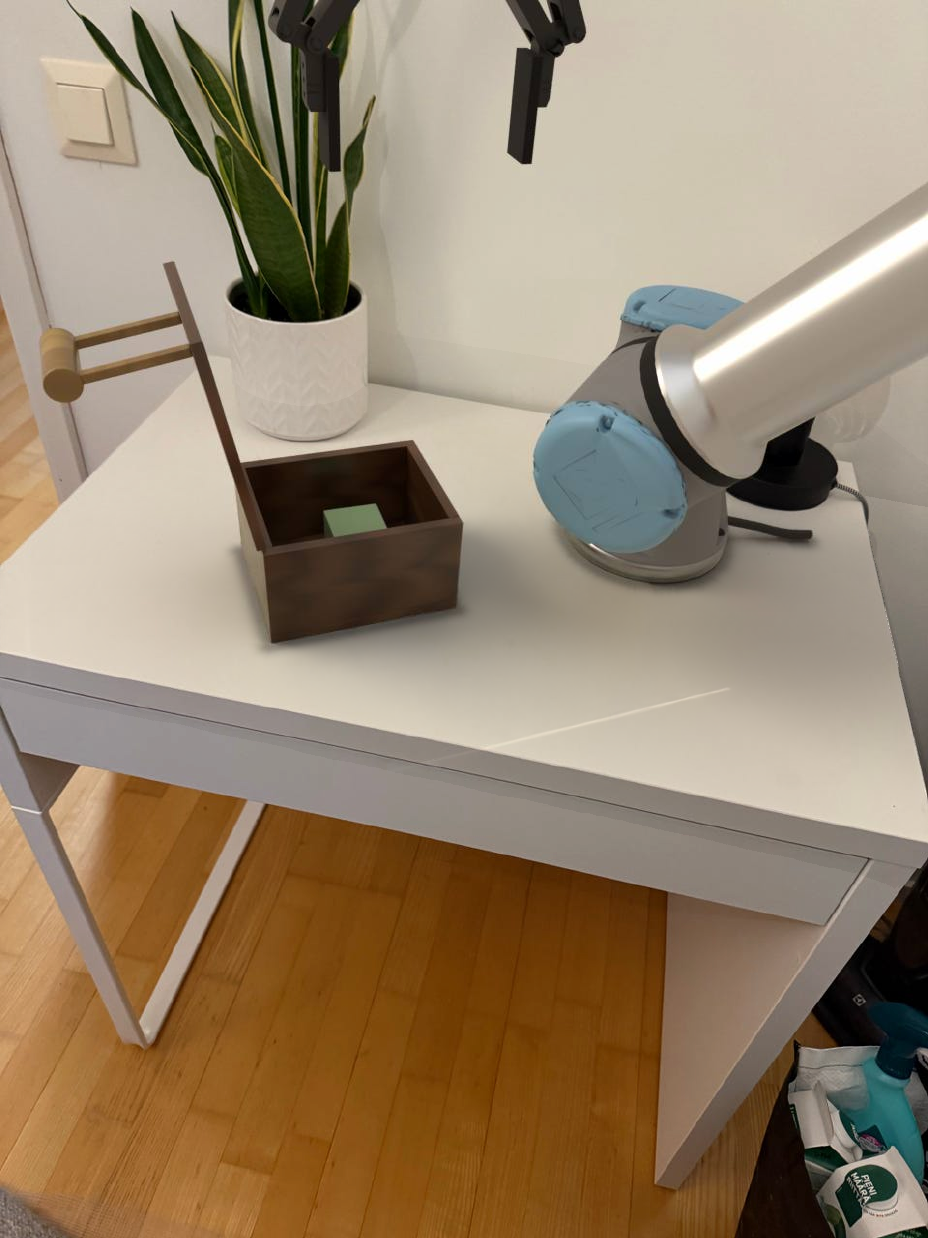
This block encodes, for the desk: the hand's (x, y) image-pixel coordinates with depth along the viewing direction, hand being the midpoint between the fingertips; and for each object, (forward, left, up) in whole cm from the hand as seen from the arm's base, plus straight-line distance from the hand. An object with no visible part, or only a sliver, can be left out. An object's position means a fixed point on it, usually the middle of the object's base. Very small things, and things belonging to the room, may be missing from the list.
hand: (427, 162), depth 64 cm
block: (+6, +3, -32) cm, 32 cm away
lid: (+16, +3, -15) cm, 22 cm away
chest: (+7, +3, -33) cm, 34 cm away
